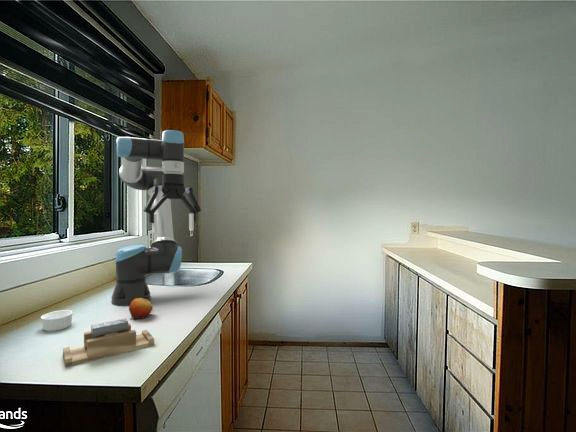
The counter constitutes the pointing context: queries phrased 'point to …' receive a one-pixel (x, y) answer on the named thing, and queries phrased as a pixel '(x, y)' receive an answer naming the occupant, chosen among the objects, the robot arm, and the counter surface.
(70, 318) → the ramekin
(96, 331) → the clip
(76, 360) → the rail
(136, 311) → the fruit
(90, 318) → the counter surface
